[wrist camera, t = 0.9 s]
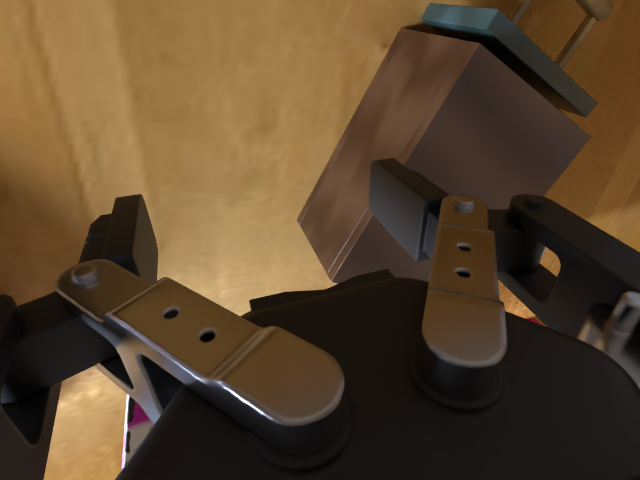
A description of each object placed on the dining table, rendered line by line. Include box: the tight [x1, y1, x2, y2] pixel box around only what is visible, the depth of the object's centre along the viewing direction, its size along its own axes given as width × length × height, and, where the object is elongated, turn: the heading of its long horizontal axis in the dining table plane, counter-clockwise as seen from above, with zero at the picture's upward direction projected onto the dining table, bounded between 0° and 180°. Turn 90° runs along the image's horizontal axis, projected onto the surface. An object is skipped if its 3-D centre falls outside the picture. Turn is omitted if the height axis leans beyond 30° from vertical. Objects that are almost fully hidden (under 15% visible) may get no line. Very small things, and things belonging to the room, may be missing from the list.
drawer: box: [421, 0, 613, 117], centre depth 30 cm, size 22×13×7 cm, turn 150°
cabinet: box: [297, 28, 591, 283], centre depth 32 cm, size 18×14×9 cm
